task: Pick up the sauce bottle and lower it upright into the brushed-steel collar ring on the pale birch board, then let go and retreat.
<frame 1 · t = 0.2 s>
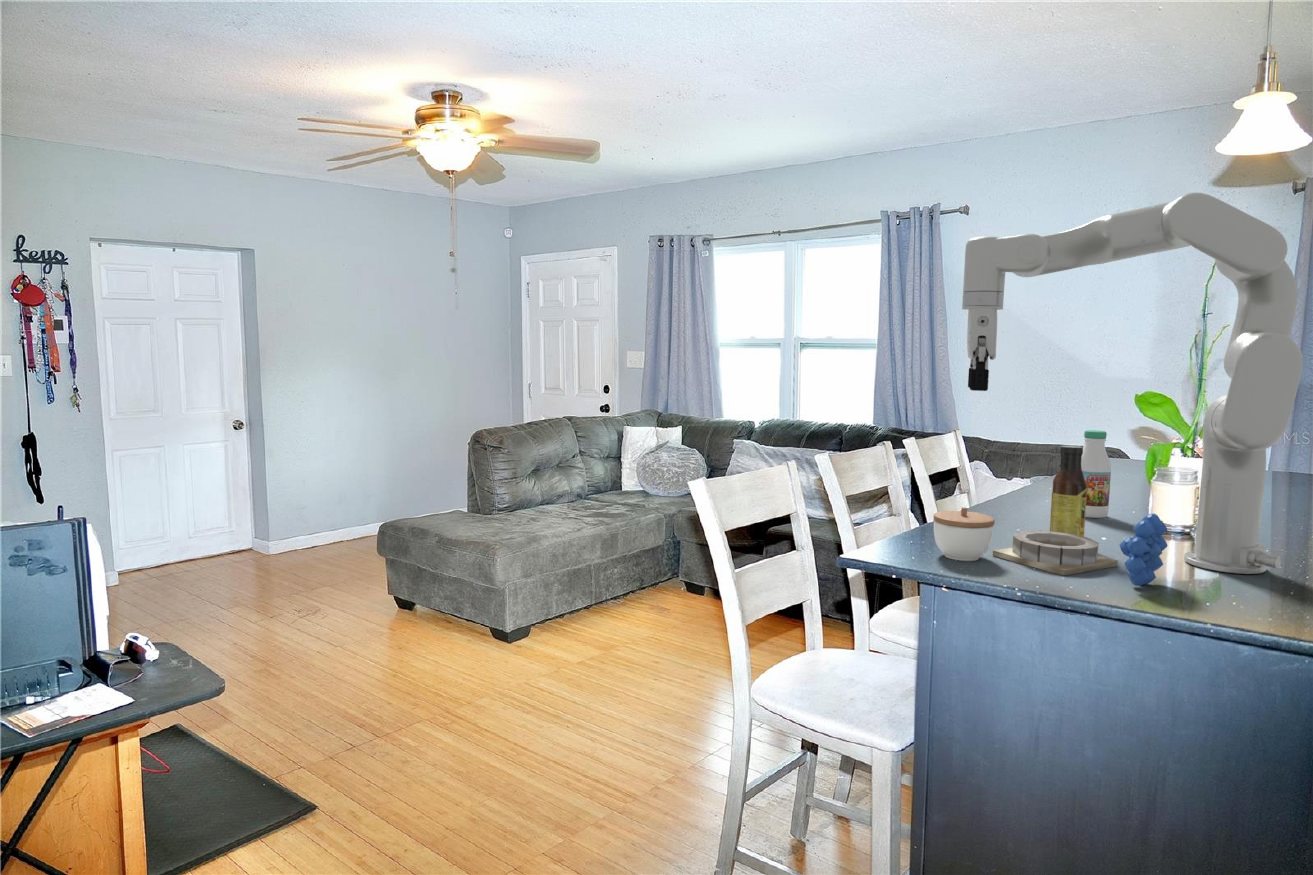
hand: (977, 389, 169), 31 cm above the table, tool pointing down, fingers open, 9 cm apart
grapes: (1137, 584, 144), on the table
lidded jar: (961, 558, 159), on the table
sauce bottle: (1065, 546, 170), on the table
collar board: (1053, 560, 158), on the table
milk bottle: (1089, 516, 200), on the table
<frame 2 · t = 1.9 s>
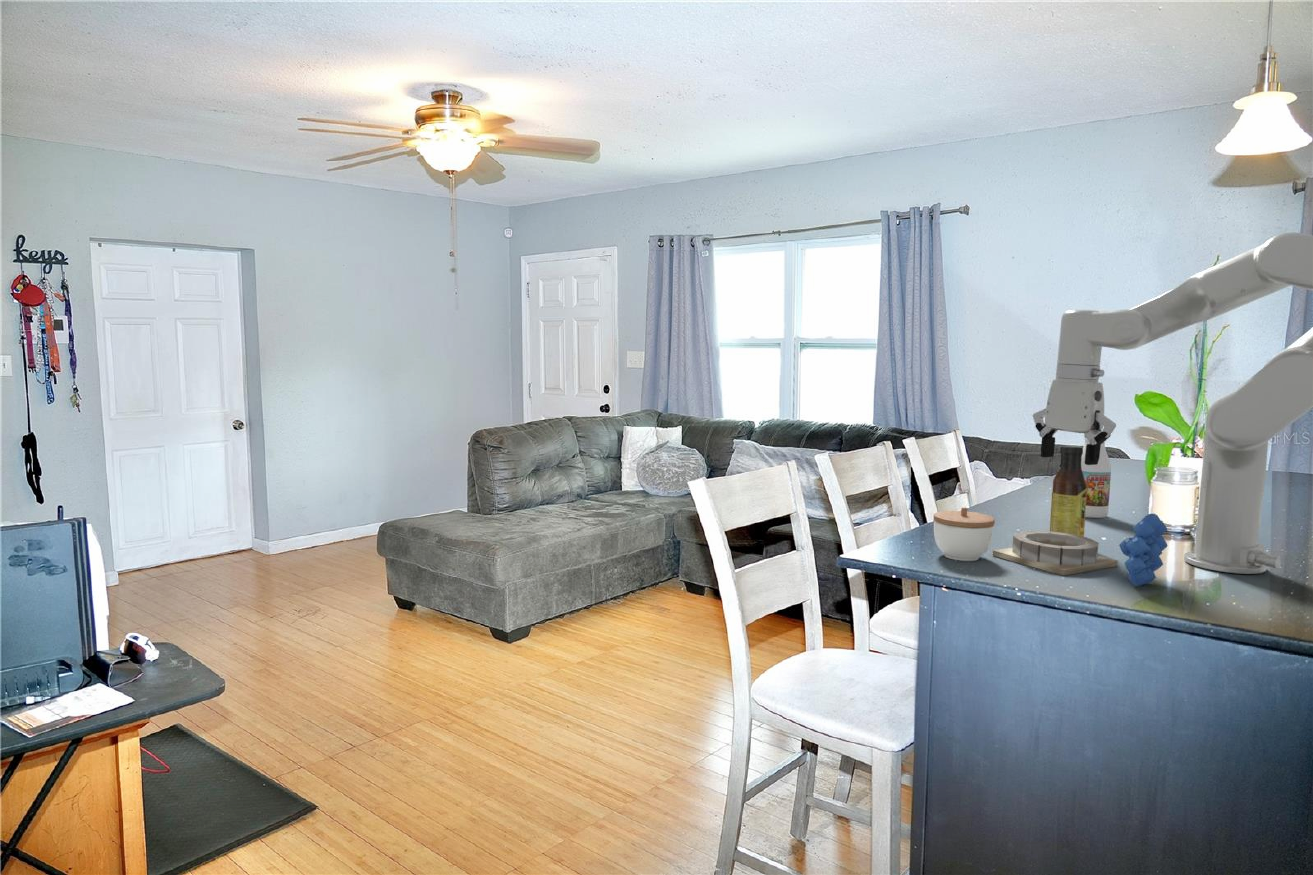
hand: (1068, 460, 168), 17 cm above the table, tool pointing down, fingers open, 9 cm apart
nothing on the table moved.
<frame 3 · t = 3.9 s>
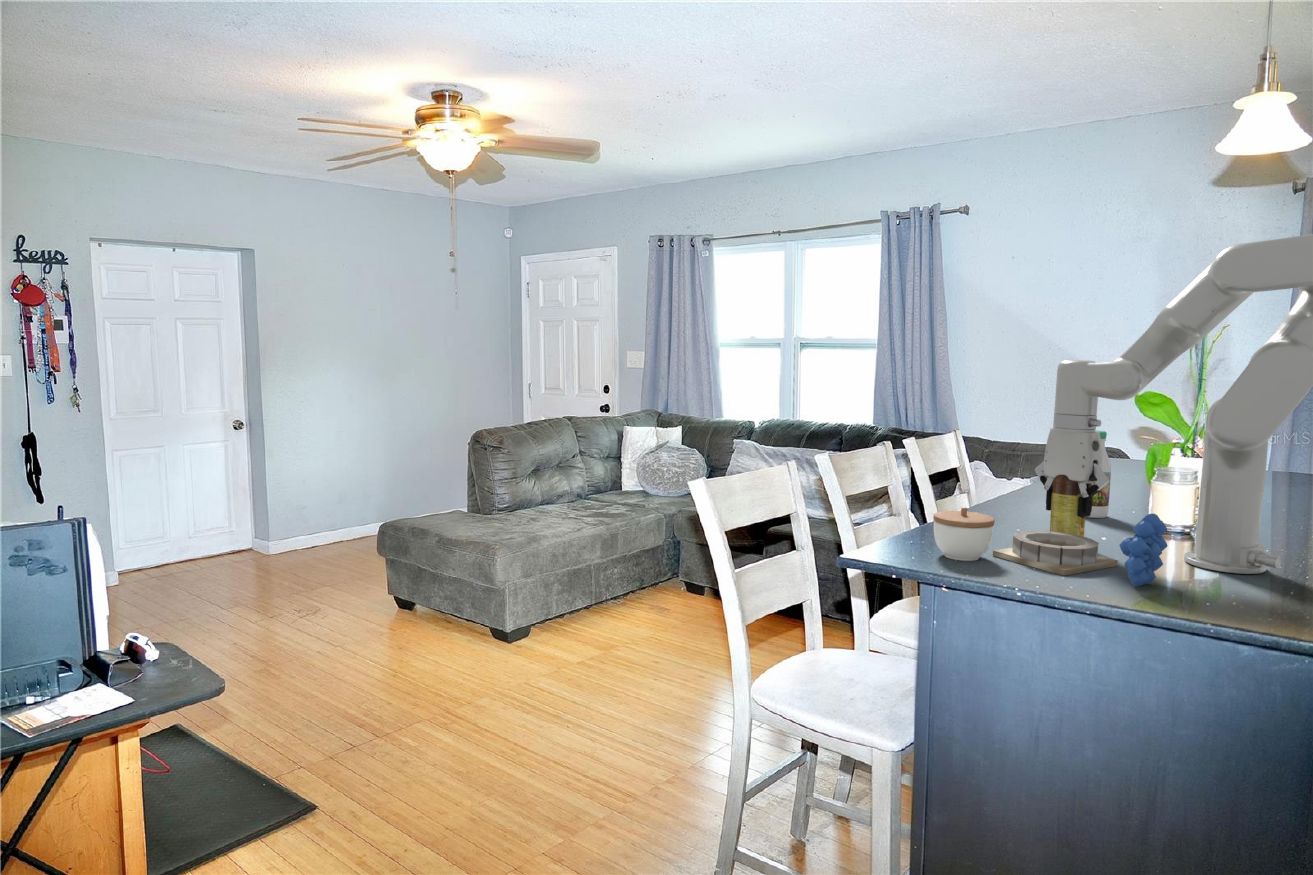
hand: (1067, 512, 169), 7 cm above the table, tool pointing down, fingers closed on sauce bottle, 6 cm apart
sauce bottle: (1065, 546, 170), on the table, touching gripper
everything else where it was.
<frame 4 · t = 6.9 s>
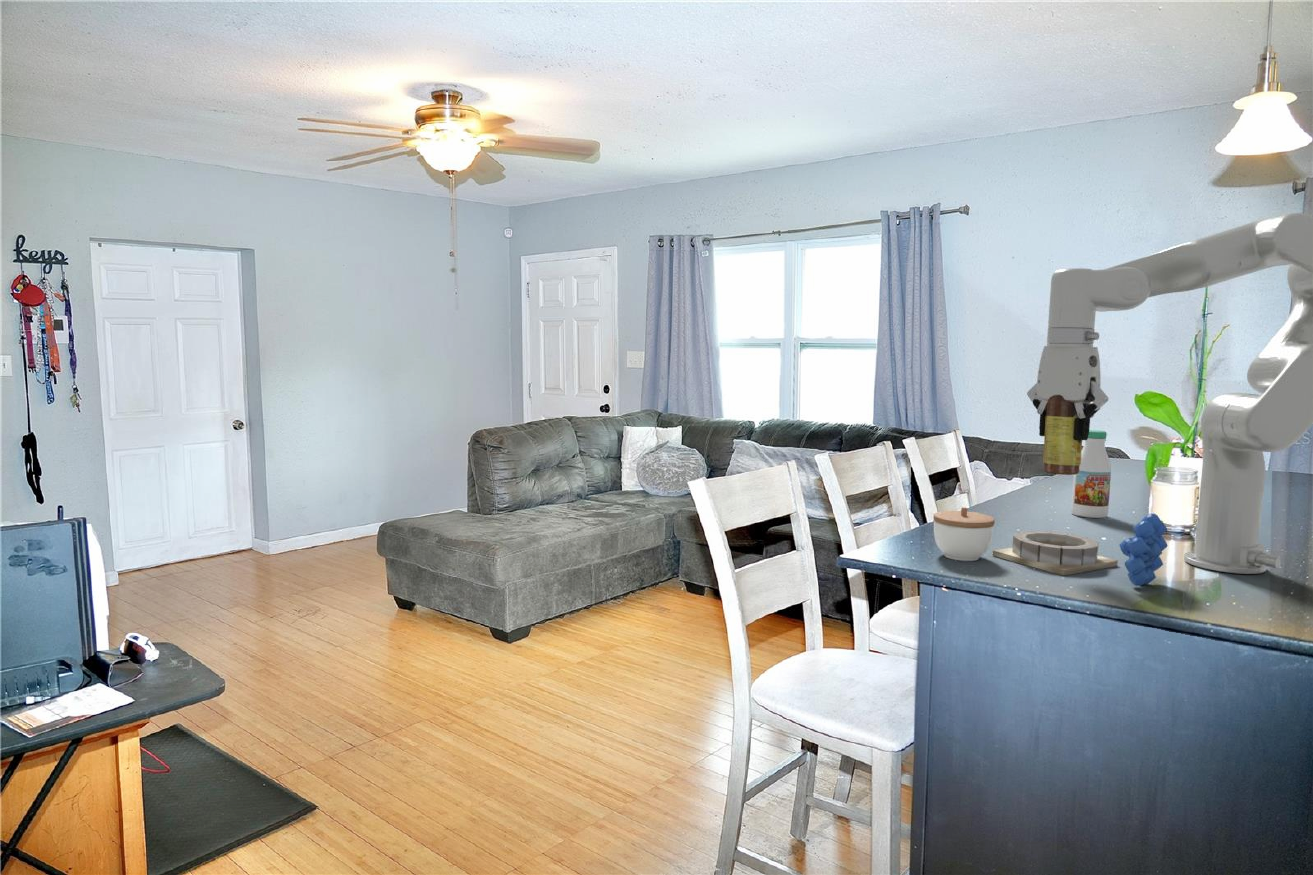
hand: (1063, 437, 155), 23 cm above the table, tool pointing down, fingers closed on sauce bottle, 6 cm apart
sauce bottle: (1060, 474, 156), point 16 cm above the table, touching gripper
everything else where it was.
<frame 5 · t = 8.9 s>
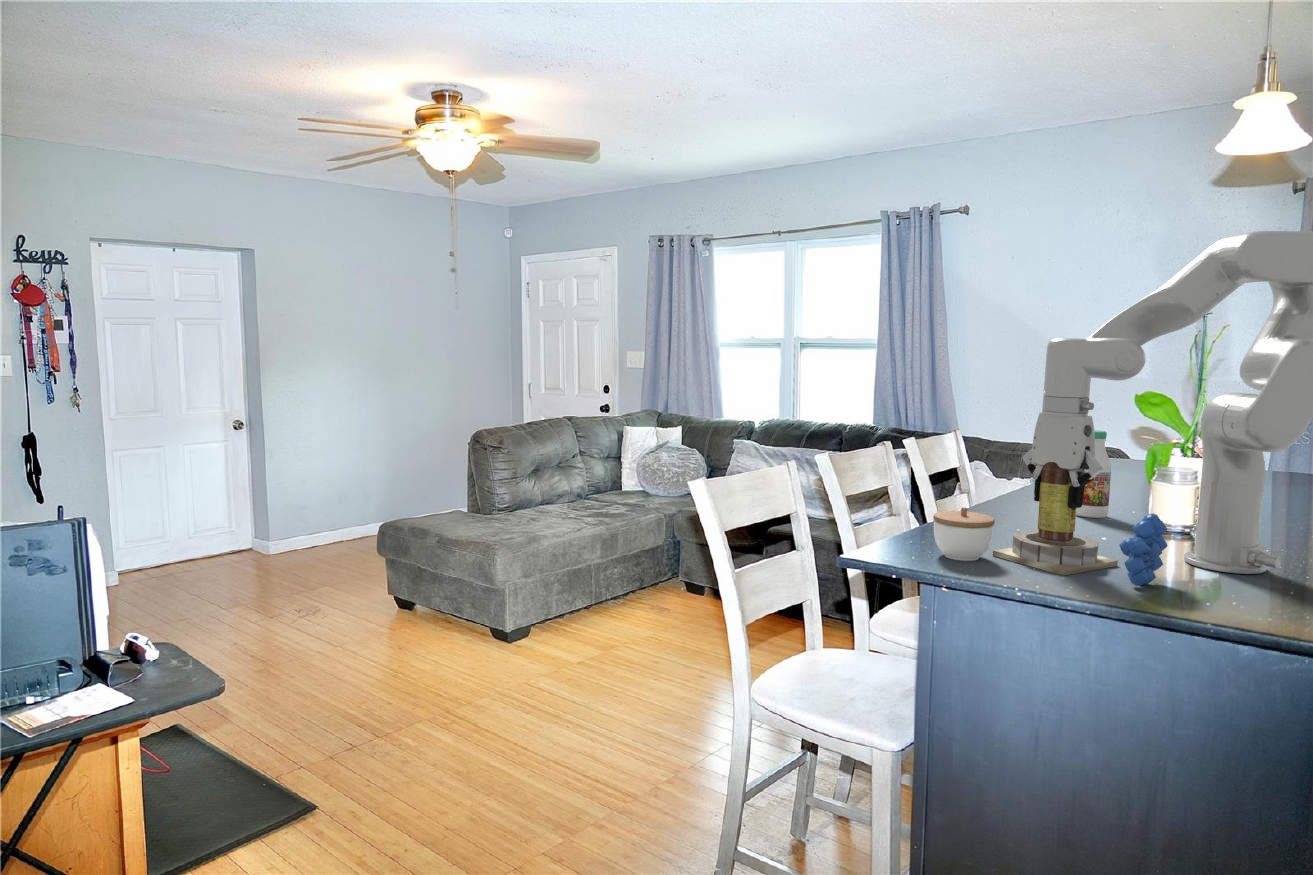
hand: (1057, 503, 156), 11 cm above the table, tool pointing down, fingers closed on sauce bottle, 6 cm apart
sauce bottle: (1054, 539, 157), point 4 cm above the table, touching gripper
everything else where it was.
when the fingers open (9 cm above the table, at t = 10.3 s): sauce bottle drops 1 cm, resting on collar board.
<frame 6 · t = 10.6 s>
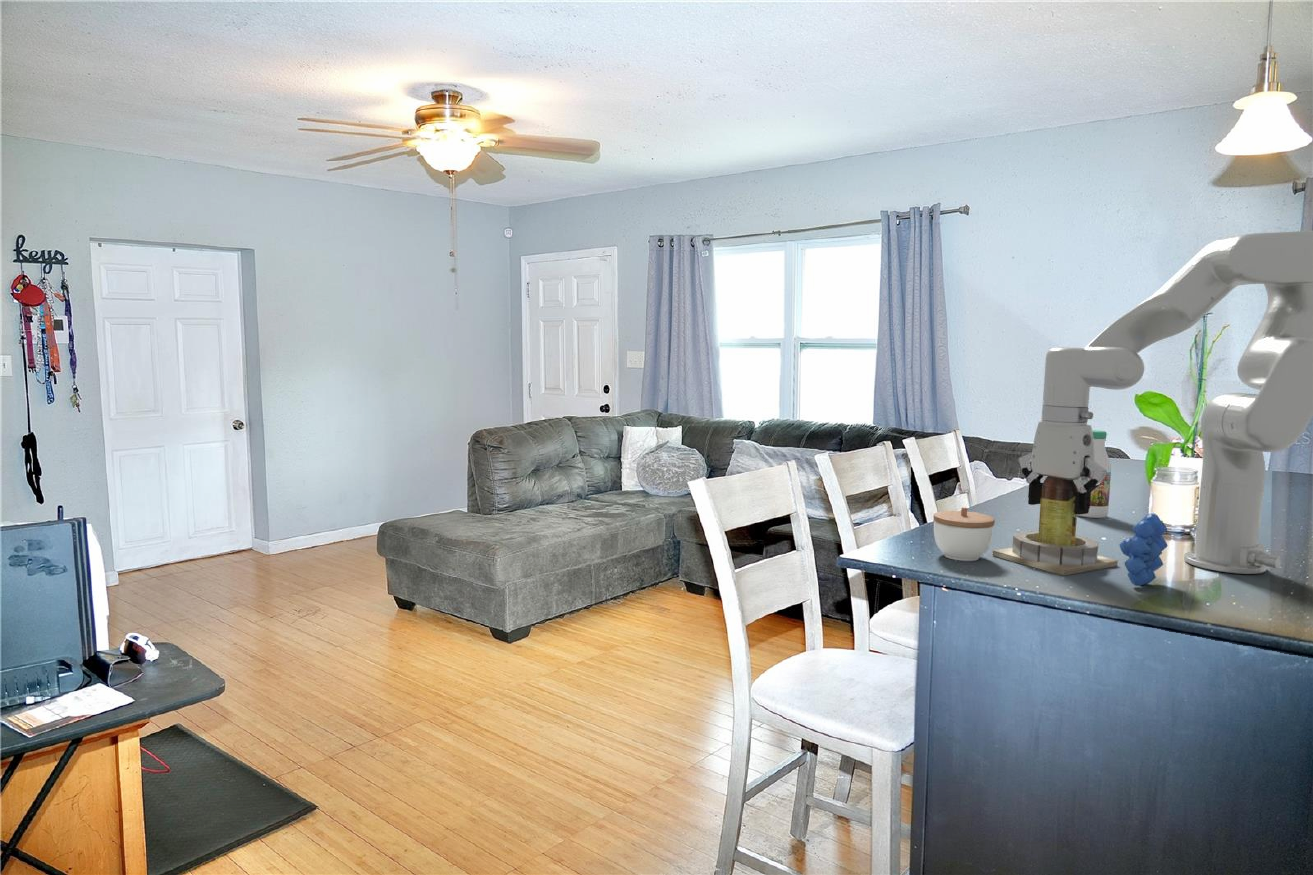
hand: (1057, 508, 157), 10 cm above the table, tool pointing down, fingers open, 9 cm apart
sauce bottle: (1054, 555, 158), point 1 cm above the table, touching collar board
everything else where it was.
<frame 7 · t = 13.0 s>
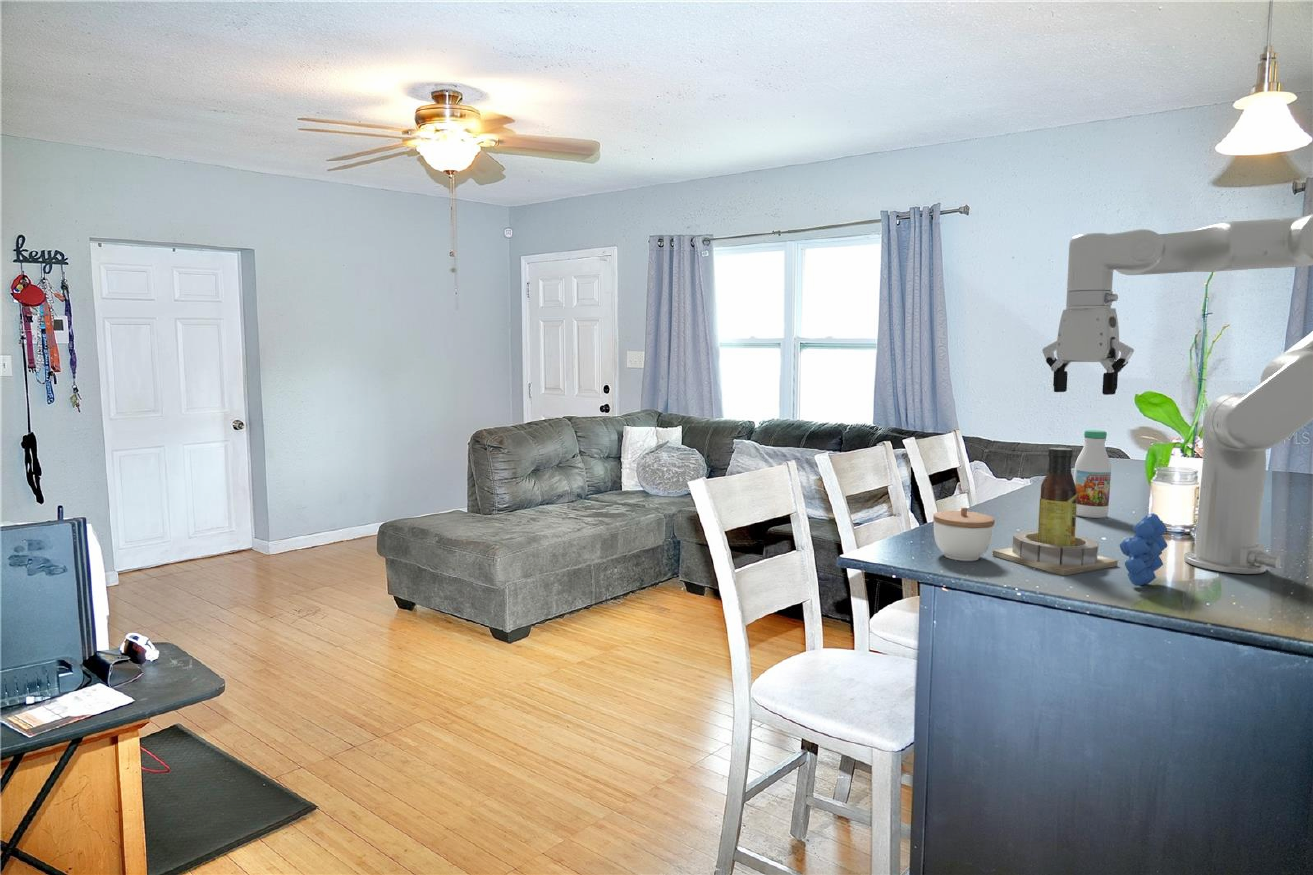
hand: (1083, 393, 161), 31 cm above the table, tool pointing down, fingers open, 9 cm apart
nothing on the table moved.
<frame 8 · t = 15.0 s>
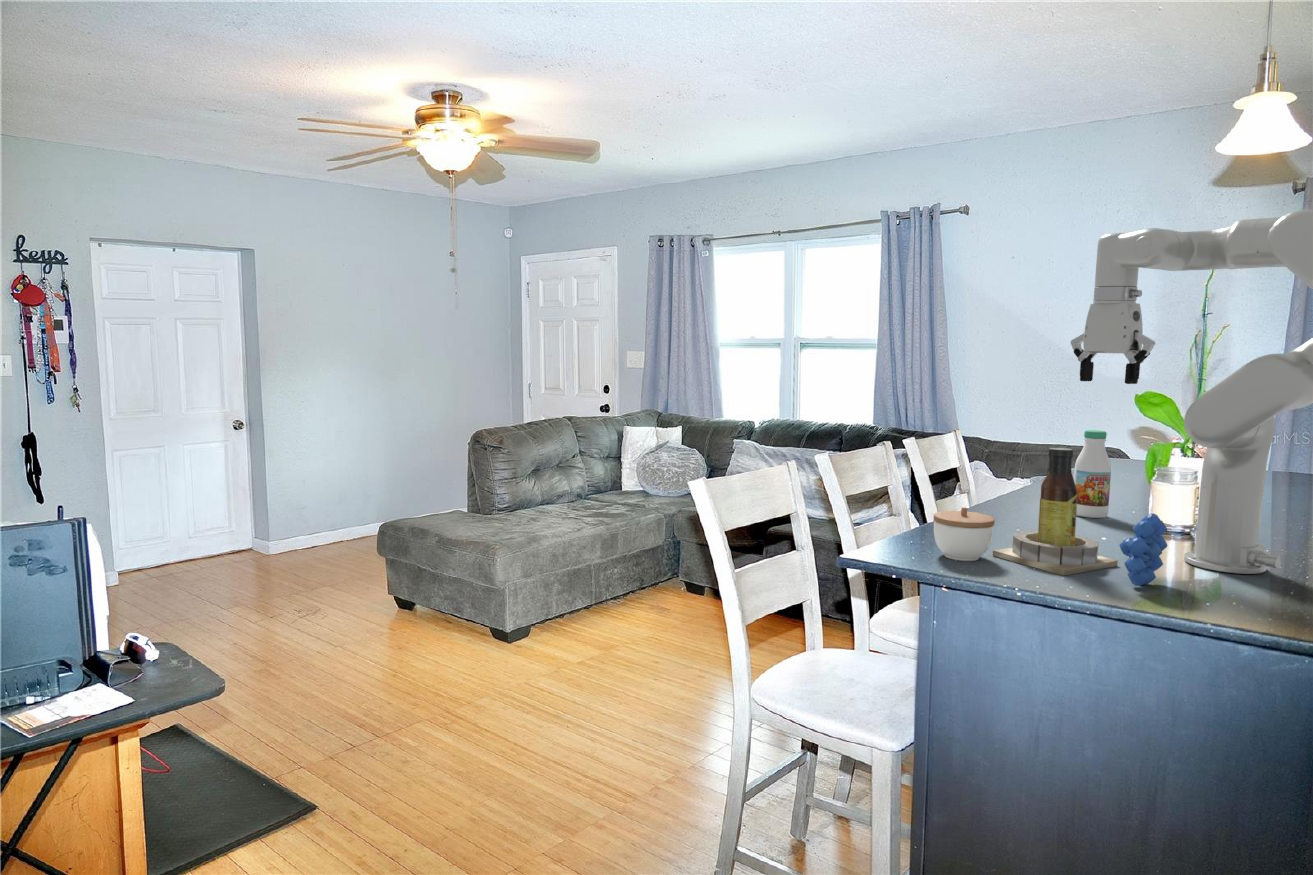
hand: (1108, 382, 172), 32 cm above the table, tool pointing down, fingers open, 9 cm apart
nothing on the table moved.
at the end: sauce bottle 0.2 cm from the collar board (horizontally); sauce bottle tilted 0°; the gripper is holding nothing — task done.
